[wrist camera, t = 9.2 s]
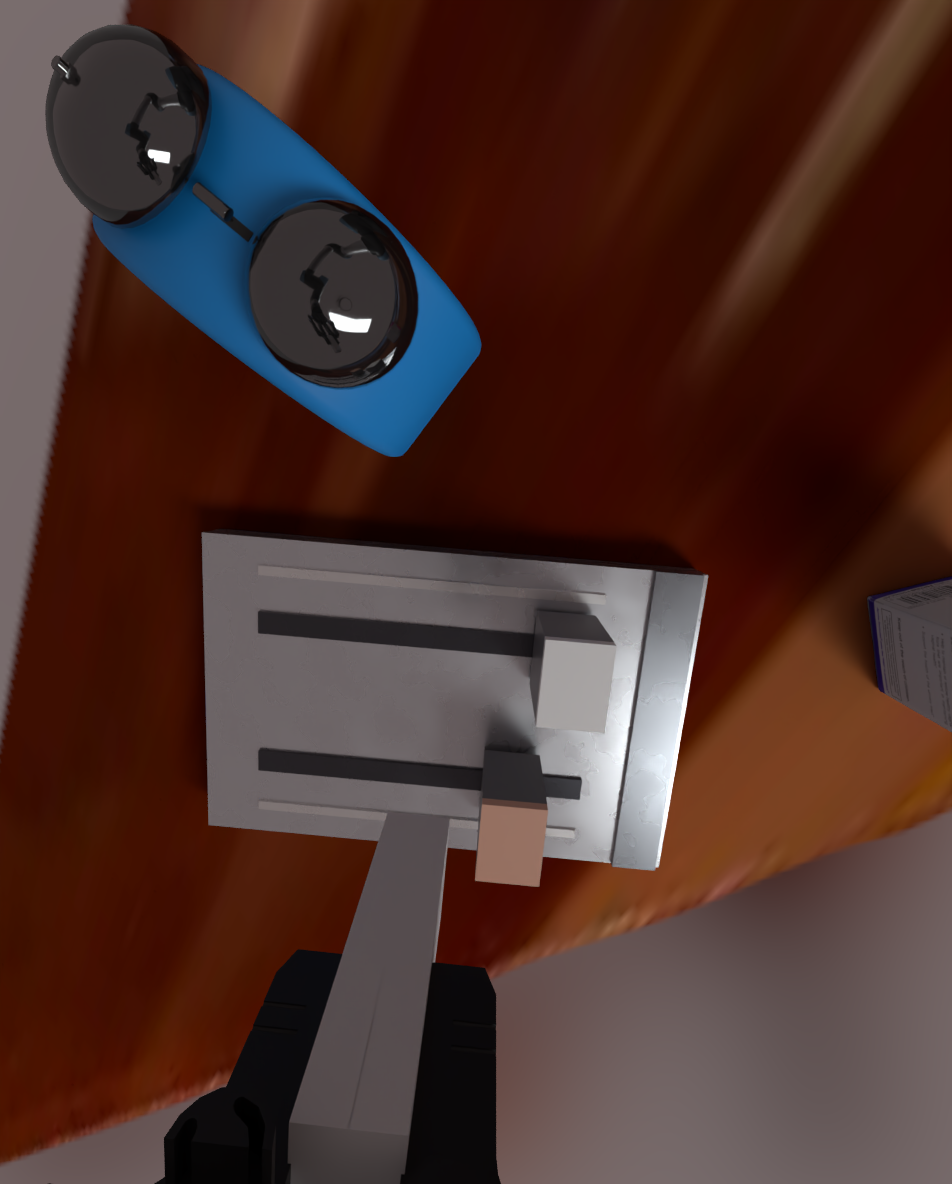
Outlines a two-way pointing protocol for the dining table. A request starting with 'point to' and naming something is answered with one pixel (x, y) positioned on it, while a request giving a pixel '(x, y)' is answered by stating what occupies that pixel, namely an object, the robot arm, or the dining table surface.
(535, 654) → the fader white
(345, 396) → the alarm clock
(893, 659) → the supplement box
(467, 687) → the console
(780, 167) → the dining table surface
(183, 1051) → the dining table surface
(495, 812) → the fader terracotta
